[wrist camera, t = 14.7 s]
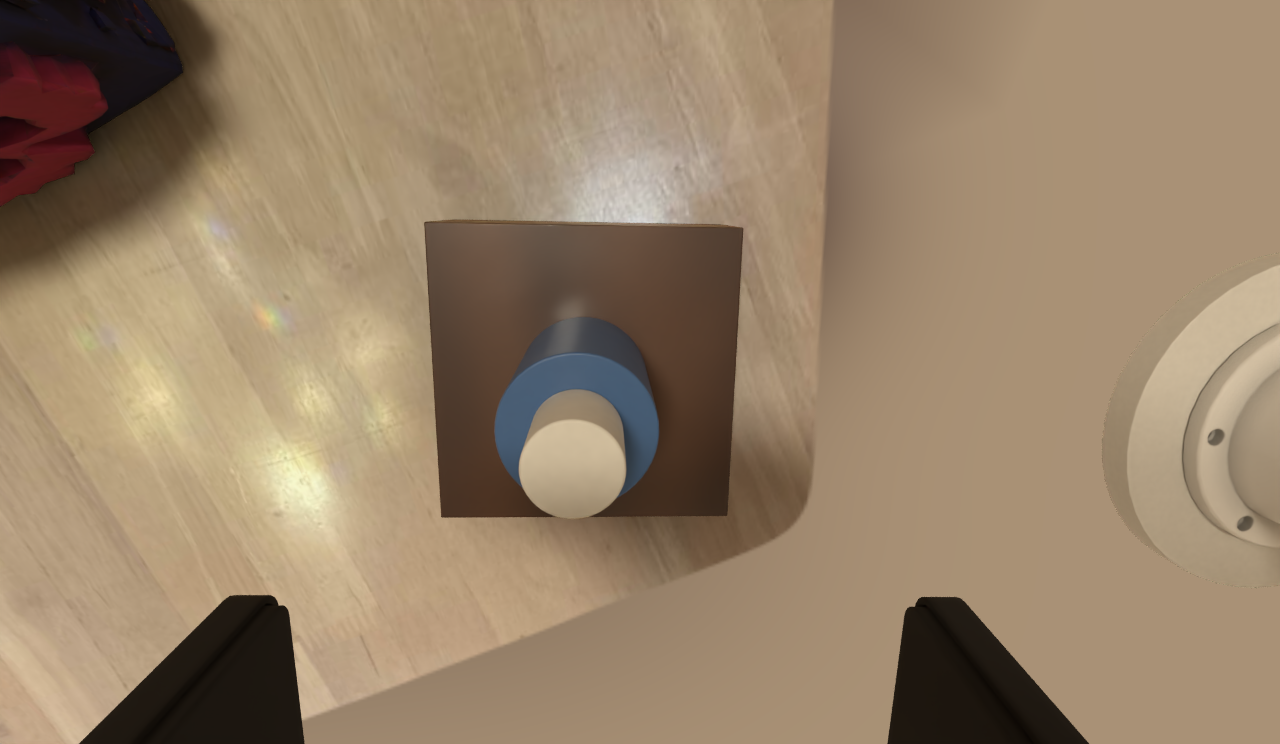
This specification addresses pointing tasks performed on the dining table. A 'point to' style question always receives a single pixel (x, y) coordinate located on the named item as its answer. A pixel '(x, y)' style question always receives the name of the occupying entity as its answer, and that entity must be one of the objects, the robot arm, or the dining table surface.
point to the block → (596, 288)
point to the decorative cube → (71, 80)
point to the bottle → (578, 418)
